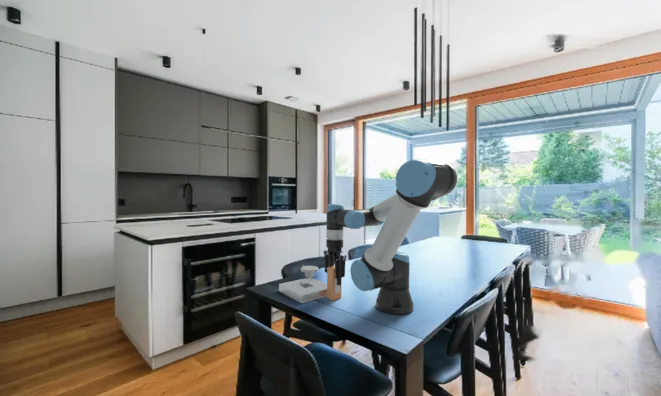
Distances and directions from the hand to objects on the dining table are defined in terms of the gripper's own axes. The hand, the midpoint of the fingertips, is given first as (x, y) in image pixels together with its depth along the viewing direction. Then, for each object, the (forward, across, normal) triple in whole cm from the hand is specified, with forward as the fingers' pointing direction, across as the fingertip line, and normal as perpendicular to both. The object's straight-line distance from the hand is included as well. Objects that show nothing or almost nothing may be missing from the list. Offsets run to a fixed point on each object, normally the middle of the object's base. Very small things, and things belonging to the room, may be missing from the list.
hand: (334, 290), depth 133 cm
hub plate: (+4, +13, +6) cm, 15 cm away
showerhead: (+4, +30, -7) cm, 31 cm away
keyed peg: (+4, 0, 0) cm, 4 cm away
